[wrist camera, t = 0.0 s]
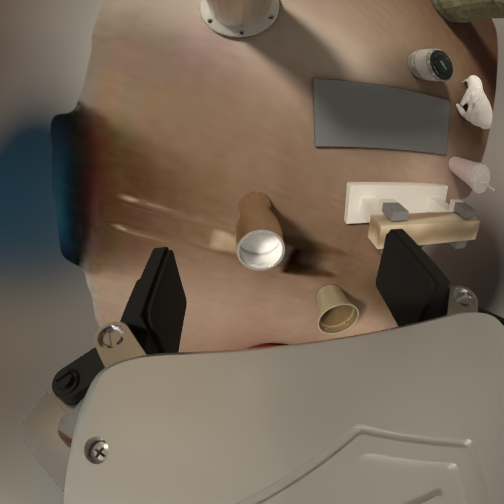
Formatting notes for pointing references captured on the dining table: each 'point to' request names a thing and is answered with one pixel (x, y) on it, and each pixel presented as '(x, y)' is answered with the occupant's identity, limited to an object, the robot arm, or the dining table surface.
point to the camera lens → (430, 65)
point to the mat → (378, 117)
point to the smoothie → (471, 173)
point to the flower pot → (335, 310)
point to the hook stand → (400, 202)
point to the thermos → (468, 9)
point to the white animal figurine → (476, 104)
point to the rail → (425, 228)
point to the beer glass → (258, 233)
